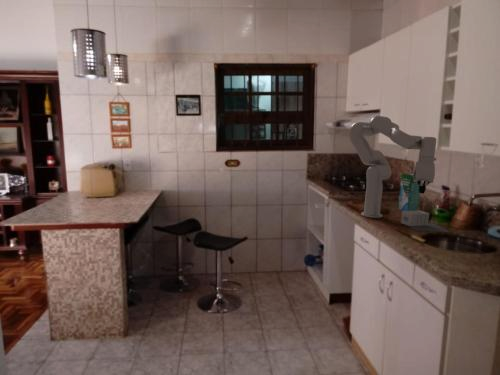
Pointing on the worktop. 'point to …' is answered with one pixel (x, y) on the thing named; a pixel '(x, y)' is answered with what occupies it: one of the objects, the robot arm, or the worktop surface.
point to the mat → (429, 228)
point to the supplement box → (415, 218)
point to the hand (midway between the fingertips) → (421, 192)
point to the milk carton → (408, 194)
